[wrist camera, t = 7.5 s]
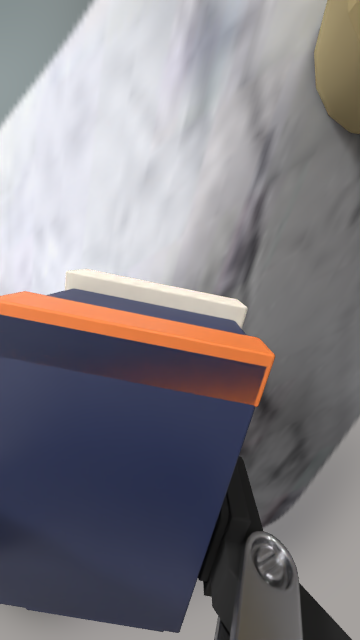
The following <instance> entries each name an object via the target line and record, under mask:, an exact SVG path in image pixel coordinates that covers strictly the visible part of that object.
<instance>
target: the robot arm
mask: <svg viewBox="0 0 360 640" xmlns="http://www.w3.org/2000/svg"><path fill="white" fill-rule="evenodd" d="M198 578H199V580H200V581H203V583H204V595H206V596H211V597H212V606H213V608H214V610H215V611H216V613H217V614H218V621H217V627H216V632H215V638H214V640H352V639H351V638H350V637H349V636H348V635H347V634H346V633H345V632H344V631H343V630H342V628H340V626H339V625H338V624H337V623H336V622H335V621H334V620H333V619H332V618H331V617H330V616H329V614H328V613H326V611H325V610H324V609H323V608H322V607H321V606H320V605H319V604H318V603H317V601H315V599H314V598H313V597H312V596H311V595H310V594H309V593H308V592H307V591H306V590H305V589H304V588H303V586H301V584H300V583H299V577H298V572H297V568H296V565H295V563H294V560H293V558H292V556H291V555H290V553H289V551H288V550H287V548H286V547H285V546H284V545H283V544H282V543H281V542H280V541H279V540H278V539H277V538H276V537H274V536H273V535H271V534H269V533H267V532H264V531H263V528H262V525H261V521H260V518H259V514H258V510H257V507H256V503H255V500H254V496H253V493H252V489H251V486H250V482H249V478H248V475H247V471H246V468H245V464H244V461H243V459H242V457H240V456H239V457H238V460H237V463H236V466H235V469H234V472H233V475H232V478H231V481H230V484H229V486H228V489H227V492H226V495H225V498H224V501H223V504H222V507H221V510H220V513H219V516H218V519H217V522H216V525H215V528H214V531H213V534H212V537H211V540H210V543H209V546H208V549H207V552H206V555H205V558H204V561H203V564H202V567H201V569H200V572H199V575H198Z"/></svg>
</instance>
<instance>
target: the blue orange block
mask: <svg viewBox="0 0 360 640" xmlns="http://www.w3.org/2000/svg"><path fill="white" fill-rule="evenodd" d="M246 313H247V307H246V306H245V305H243V304H242V303H241V302H240V301H238V300H237V299H232V298H227V297H222V296H217V295H213V294H208V293H203V292H198V291H193V290H188V289H183V288H178V287H173V286H168V285H163V284H158V283H154V282H149V281H144V280H139V279H134V278H129V277H124V276H119V275H114V274H109V273H104V272H100V271H95V270H90V269H80V270H70V271H66V279H65V291H61V292H58V293H54V294H50V295H41V294H36V293H31V292H26V291H24V292H19V293H14V294H8V295H3V296H0V604H5V605H12V606H18V607H24V608H26V609H27V610H33V611H38V612H45V613H51V614H58V615H63V616H69V617H75V618H81V619H88V620H94V621H99V622H106V623H112V624H118V625H124V626H130V627H136V628H142V629H148V630H154V631H160V632H163V631H169V632H176V633H179V632H180V629H181V626H182V623H183V620H184V617H185V614H186V611H187V608H188V605H189V602H190V599H191V596H192V593H193V590H194V587H195V584H196V581H197V578H198V575H199V572H200V569H201V567H202V564H203V561H204V558H205V555H206V552H207V549H208V546H209V543H210V540H211V537H212V534H213V531H214V528H215V525H216V522H217V519H218V516H219V513H220V510H221V507H222V504H223V501H224V498H225V495H226V492H227V489H228V486H229V484H230V481H231V478H232V475H233V472H234V469H235V466H236V463H237V460H238V457H239V454H240V451H241V448H242V445H243V442H244V439H245V436H246V433H247V430H248V427H249V424H250V421H251V418H252V415H253V412H254V409H255V407H258V406H259V403H260V400H261V397H262V394H263V391H264V388H265V385H266V382H267V379H268V376H269V373H270V370H271V367H272V365H273V362H274V359H275V355H274V354H273V352H272V351H271V350H270V349H269V348H268V347H267V346H266V345H265V344H264V343H263V342H262V341H261V339H259V338H256V337H251V336H247V335H246V334H245V333H244V332H243V330H242V327H243V323H244V320H245V316H246Z"/></svg>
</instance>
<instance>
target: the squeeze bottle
mask: <svg viewBox="0 0 360 640" xmlns="http://www.w3.org/2000/svg"><path fill="white" fill-rule="evenodd" d="M314 61H315V78H316V89H317V91H318V93H319V95H320V98H321V100H322V102H323V104H324V106H325V108H326V111H327V113H328V115H329V116H330V117H331V118H332V119H334V120H335V121H336V122H337V123H339V124H340V125H341V126H342V127H343V128H345V129H346V130H347V131H348V132H350V133H355V134H360V0H327V4H326V8H325V12H324V16H323V20H322V23H321V27H320V31H319V35H318V39H317V43H316V47H315V51H314Z"/></svg>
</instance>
